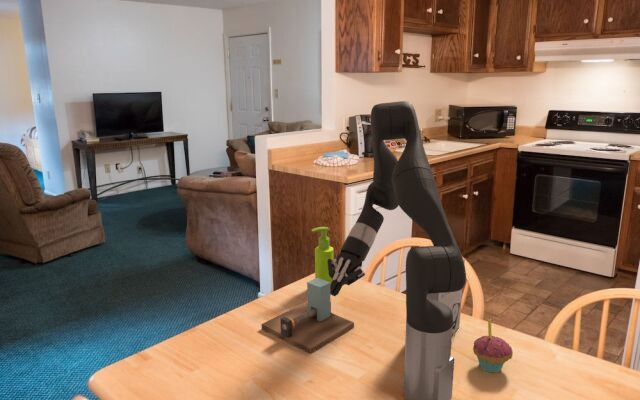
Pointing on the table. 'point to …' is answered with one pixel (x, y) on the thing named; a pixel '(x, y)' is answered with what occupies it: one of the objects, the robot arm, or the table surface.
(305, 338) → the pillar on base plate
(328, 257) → the soap dispenser
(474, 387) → the table surface
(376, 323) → the table surface
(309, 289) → the tall pale blue block
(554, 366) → the table surface
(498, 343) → the cupcake
